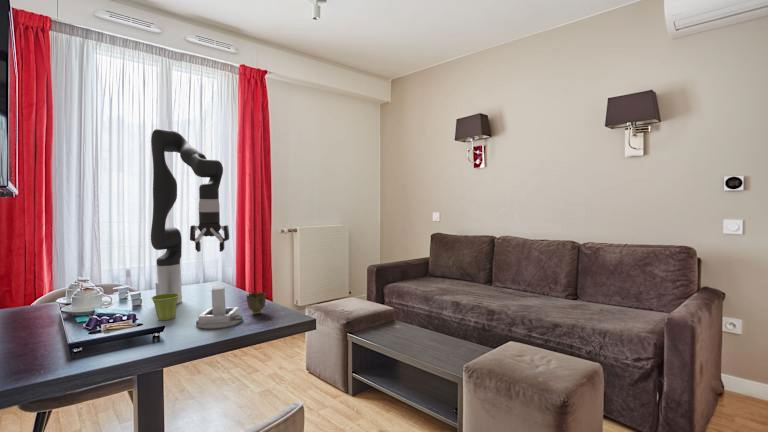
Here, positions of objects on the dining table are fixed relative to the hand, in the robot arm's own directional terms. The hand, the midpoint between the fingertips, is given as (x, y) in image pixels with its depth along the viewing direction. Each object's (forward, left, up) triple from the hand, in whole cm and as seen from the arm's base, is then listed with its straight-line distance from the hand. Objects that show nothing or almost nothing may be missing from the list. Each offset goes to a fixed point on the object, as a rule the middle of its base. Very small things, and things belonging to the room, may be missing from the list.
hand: (210, 251), depth 164 cm
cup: (+18, -2, -25) cm, 31 cm away
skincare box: (+7, -12, -24) cm, 28 cm away
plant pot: (-16, -4, -25) cm, 30 cm away
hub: (+7, -12, -25) cm, 29 cm away
